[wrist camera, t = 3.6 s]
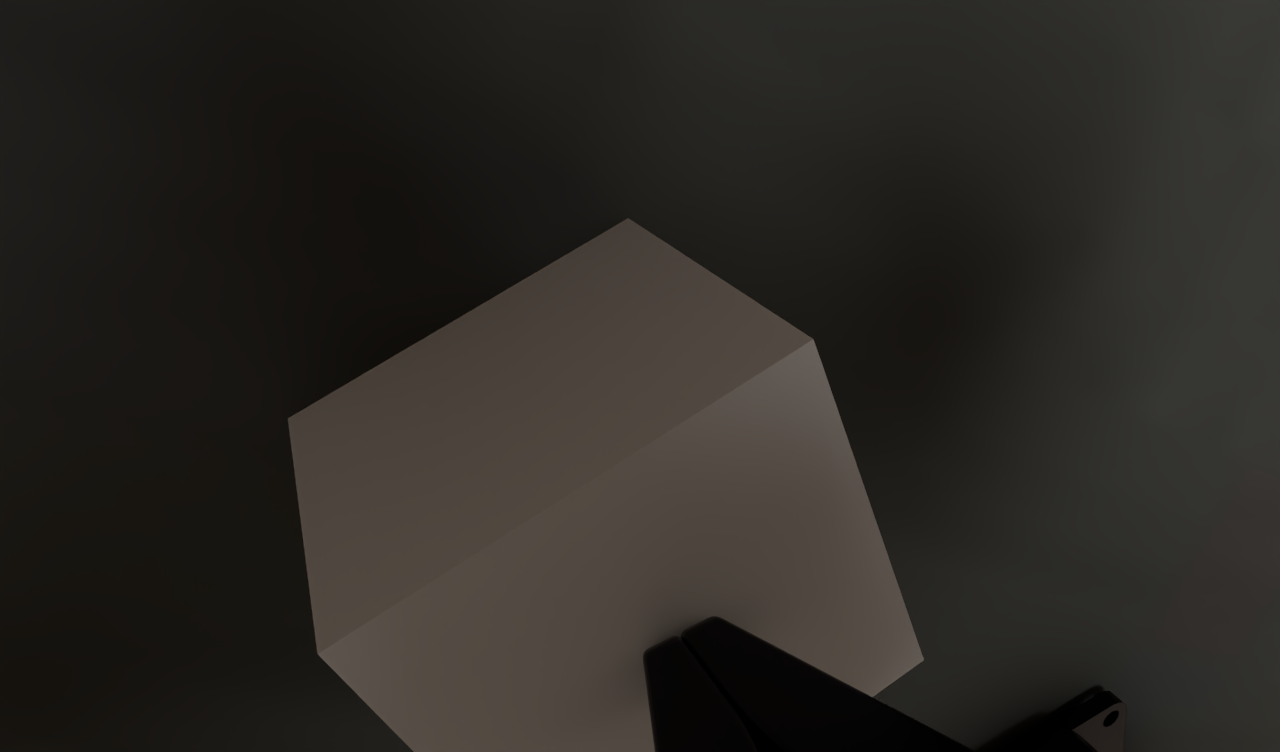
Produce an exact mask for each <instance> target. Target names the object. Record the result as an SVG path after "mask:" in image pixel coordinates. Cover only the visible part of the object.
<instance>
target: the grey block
mask: <svg viewBox="0 0 1280 752" xmlns="http://www.w3.org/2000/svg"><path fill="white" fill-rule="evenodd" d="M288 425H289V433H290V440H291V448H292V456H293V464H294V472H295V480H296V488H297V496H298V504H299V512H300V520H301V528H302V535H303V543H304V551H305V559H306V567H307V575H308V583H309V591H310V599H311V607H312V615H313V623H314V630H315V638H316V646H317V654H318V655H319V656H320V657H321V658H322V659H323V660H324V661H325V662H326V663H327V664H328V665H329V666H330V667H331V668H332V669H333V670H334V671H335V672H336V673H337V674H338V675H339V676H340V677H341V678H342V679H343V680H344V682H345V683H346V684H347V685H348V686H349V687H350V688H351V689H352V690H353V691H354V692H355V693H356V694H357V695H358V696H359V697H360V698H361V699H362V700H363V701H364V702H365V703H366V704H367V705H368V706H369V707H370V708H371V709H372V710H373V711H374V712H375V713H376V714H377V715H378V716H379V717H380V718H381V719H382V720H383V721H384V722H385V723H386V724H387V725H388V726H389V727H390V728H391V729H392V730H393V731H394V732H395V733H396V734H397V735H398V736H399V737H400V738H401V739H402V740H403V741H404V742H405V743H406V744H407V745H408V746H409V747H410V748H411V749H412V751H413V752H655V749H654V741H653V734H652V726H651V718H650V711H649V703H648V696H647V688H646V680H645V673H644V665H643V653H644V652H645V650H646V649H648V648H650V647H652V646H654V645H656V644H658V643H660V642H662V641H664V640H666V639H667V638H669V637H672V636H678V637H680V638H681V634H682V632H683V631H684V630H685V629H687V628H689V627H691V626H693V625H695V624H697V623H699V622H701V621H703V620H705V619H707V618H709V617H711V616H717V617H721V618H723V619H725V620H727V621H728V622H730V623H732V624H734V625H736V626H738V627H740V628H742V629H744V630H746V631H747V632H749V633H751V634H753V635H755V636H757V637H759V638H761V639H763V640H765V641H766V642H768V643H770V644H772V645H774V646H776V647H778V648H780V649H782V650H784V651H786V652H787V653H789V654H791V655H793V656H795V657H797V658H799V659H801V660H803V661H805V662H806V663H808V664H810V665H812V666H814V667H816V668H818V669H820V670H822V671H824V672H825V673H827V674H829V675H831V676H833V677H835V678H837V679H839V680H841V681H843V682H844V683H846V684H848V685H850V686H852V687H854V688H856V689H858V690H860V691H862V692H863V693H865V694H867V695H869V696H871V697H873V696H875V695H876V694H877V693H879V692H880V691H882V690H883V689H884V688H886V687H887V686H889V685H890V684H891V683H893V682H894V681H896V680H897V679H898V678H900V677H901V676H903V675H904V674H905V673H907V672H908V671H909V670H911V669H912V668H914V667H915V666H916V665H918V664H919V663H921V662H922V661H923V660H924V659H923V656H922V653H921V650H920V647H919V644H918V641H917V638H916V636H915V633H914V630H913V627H912V624H911V621H910V618H909V615H908V612H907V609H906V607H905V604H904V601H903V598H902V595H901V592H900V589H899V586H898V583H897V580H896V577H895V575H894V572H893V569H892V566H891V563H890V560H889V557H888V554H887V551H886V548H885V546H884V543H883V540H882V537H881V534H880V531H879V528H878V525H877V522H876V519H875V516H874V514H873V511H872V508H871V505H870V502H869V499H868V496H867V493H866V490H865V487H864V485H863V482H862V479H861V476H860V473H859V470H858V467H857V464H856V461H855V458H854V455H853V453H852V450H851V447H850V444H849V441H848V438H847V435H846V432H845V429H844V426H843V423H842V421H841V418H840V415H839V412H838V409H837V406H836V403H835V400H834V397H833V394H832V392H831V389H830V386H829V383H828V380H827V377H826V374H825V371H824V368H823V365H822V362H821V360H820V357H819V354H818V351H817V348H816V345H815V342H814V339H812V338H811V337H809V336H808V335H806V334H805V333H803V332H802V331H800V330H799V329H797V328H796V327H794V326H793V325H791V324H789V323H788V322H786V321H785V320H783V319H782V318H780V317H779V316H777V315H776V314H774V313H773V312H771V311H770V310H768V309H767V308H765V307H763V306H762V305H760V304H759V303H757V302H756V301H754V300H753V299H751V298H750V297H748V296H747V295H745V294H744V293H742V292H741V291H739V290H737V289H736V288H734V287H733V286H731V285H730V284H728V283H727V282H725V281H724V280H722V279H721V278H719V277H718V276H716V275H715V274H713V273H711V272H710V271H708V270H707V269H705V268H704V267H702V266H701V265H699V264H698V263H696V262H695V261H693V260H692V259H690V258H689V257H687V256H685V255H684V254H682V253H681V252H679V251H678V250H676V249H675V248H673V247H672V246H670V245H669V244H667V243H666V242H664V241H662V240H661V239H659V238H658V237H656V236H655V235H653V234H652V233H650V232H649V231H647V230H646V229H644V228H643V227H641V226H640V225H638V224H636V223H635V222H633V221H632V220H630V219H629V218H627V219H626V220H624V221H622V222H621V223H619V224H617V225H616V226H614V227H612V228H611V229H609V230H607V231H605V232H604V233H602V234H600V235H599V236H597V237H595V238H594V239H592V240H590V241H588V242H587V243H585V244H583V245H582V246H580V247H578V248H577V249H575V250H573V251H571V252H570V253H568V254H566V255H565V256H563V257H561V258H560V259H558V260H556V261H554V262H553V263H551V264H549V265H548V266H546V267H544V268H543V269H541V270H539V271H537V272H536V273H534V274H532V275H531V276H529V277H527V278H526V279H524V280H522V281H520V282H519V283H517V284H515V285H514V286H512V287H510V288H509V289H507V290H505V291H503V292H502V293H500V294H498V295H497V296H495V297H493V298H492V299H490V300H488V301H487V302H485V303H483V304H481V305H480V306H478V307H476V308H475V309H473V310H471V311H470V312H468V313H466V314H464V315H463V316H461V317H459V318H458V319H456V320H454V321H453V322H451V323H449V324H447V325H446V326H444V327H442V328H441V329H439V330H437V331H436V332H434V333H432V334H430V335H429V336H427V337H425V338H424V339H422V340H420V341H419V342H417V343H415V344H413V345H412V346H410V347H408V348H407V349H405V350H403V351H402V352H400V353H398V354H396V355H395V356H393V357H391V358H390V359H388V360H386V361H385V362H383V363H381V364H379V365H378V366H376V367H374V368H373V369H371V370H369V371H368V372H366V373H364V374H363V375H361V376H359V377H357V378H356V379H354V380H352V381H351V382H349V383H347V384H346V385H344V386H342V387H340V388H339V389H337V390H335V391H334V392H332V393H330V394H329V395H327V396H325V397H323V398H322V399H320V400H318V401H317V402H315V403H313V404H312V405H310V406H308V407H306V408H305V409H303V410H301V411H300V412H298V413H296V414H295V415H293V416H291V417H289V418H288Z"/></svg>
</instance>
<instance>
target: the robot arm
mask: <svg viewBox="0 0 1280 752" xmlns="http://www.w3.org/2000/svg"><path fill="white" fill-rule="evenodd" d="M643 665H644V673H645V680H646V688H647V696H648V703H649V711H650V718H651V726H652V734H653V741H654V749H655V752H976V751H974V750H972V749H970V748H968V747H966V746H964V745H962V744H960V743H959V742H957V741H955V740H953V739H951V738H949V737H947V736H945V735H943V734H941V733H940V732H938V731H936V730H934V729H932V728H930V727H928V726H926V725H924V724H922V723H921V722H919V721H917V720H915V719H913V718H911V717H909V716H907V715H905V714H903V713H902V712H900V711H898V710H896V709H894V708H892V707H890V706H888V705H886V704H884V703H883V702H881V701H879V700H877V699H875V698H873V697H871V696H869V695H867V694H865V693H863V692H862V691H860V690H858V689H856V688H854V687H852V686H850V685H848V684H846V683H844V682H843V681H841V680H839V679H837V678H835V677H833V676H831V675H829V674H827V673H825V672H824V671H822V670H820V669H818V668H816V667H814V666H812V665H810V664H808V663H806V662H805V661H803V660H801V659H799V658H797V657H795V656H793V655H791V654H789V653H787V652H786V651H784V650H782V649H780V648H778V647H776V646H774V645H772V644H770V643H768V642H766V641H765V640H763V639H761V638H759V637H757V636H755V635H753V634H751V633H749V632H747V631H746V630H744V629H742V628H740V627H738V626H736V625H734V624H732V623H730V622H728V621H727V620H725V619H723V618H721V617H717V616H711V617H709V618H707V619H705V620H703V621H701V622H699V623H697V624H695V625H693V626H691V627H689V628H687V629H685V630H684V631H683V632H682V634H681V638H680V637H678V636H672V637H669V638H667V639H666V640H664V641H662V642H660V643H658V644H656V645H654V646H652V647H650V648H648V649H646V650H645V652H644V653H643ZM1126 712H1127V708H1126V704H1125V703H1123V702H1122V701H1121V700H1120V699H1119V698H1117V697H1116V696H1115V695H1114V694H1112V693H1111V692H1110V691H1104V692H1101V693H1099V694H1097V695H1096V696H1094V697H1092V698H1091V699H1089V700H1088V701H1086V702H1084V703H1083V704H1081V705H1079V706H1078V707H1076V708H1074V709H1073V710H1071V711H1070V712H1068V713H1066V714H1065V715H1063V716H1061V717H1060V718H1058V719H1056V720H1055V721H1053V722H1052V723H1050V724H1048V725H1047V726H1045V727H1043V728H1042V729H1040V730H1038V731H1037V732H1035V733H1034V734H1032V735H1030V736H1029V737H1027V738H1025V739H1024V740H1022V741H1020V742H1019V743H1017V744H1016V745H1014V746H1012V747H1011V748H1009V749H1007V750H1006V751H1004V752H1123V743H1124V733H1125V722H1126Z"/></svg>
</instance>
